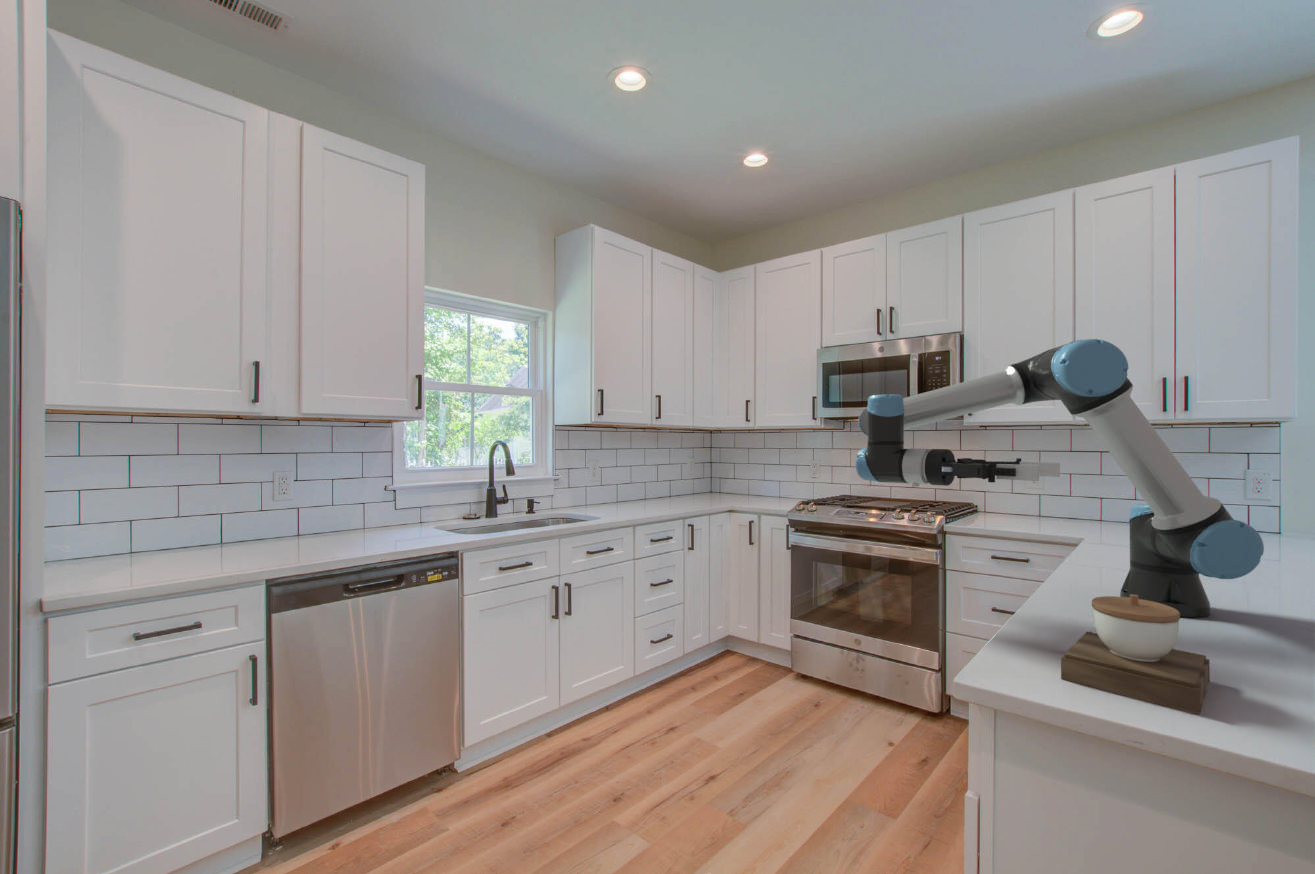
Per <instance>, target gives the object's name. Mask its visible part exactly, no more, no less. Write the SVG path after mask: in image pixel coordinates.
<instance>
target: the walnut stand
mask: <svg viewBox="0 0 1315 874" xmlns="http://www.w3.org/2000/svg"><path fill="white" fill-rule="evenodd" d="M1206 657H1207V656H1206V654H1205V655H1204V654H1201V653H1194V652H1191V651H1185V650H1181V649H1175V648H1173V649H1172V650H1171V651H1170V652H1169V653H1168V654H1166V655H1165V656H1163V657H1161V658H1160V660H1159V661H1156V662H1142V661H1136V660H1131V659H1126V658H1123V657H1120V656H1117V655H1115V654H1113V653H1112V652H1110V649H1109V648H1108V647H1107V646H1106V645H1105V644H1104V643H1103V642H1102V641H1101V639H1100V638H1099V636H1098V635H1097V632H1096V633H1095V632H1092V631H1086V632H1085V633H1084V634H1083V635H1082V636H1081V637H1080V638H1079V639H1078V640H1077V641H1076V642H1075V643H1074V644H1073V645H1072V646H1071V647H1070V648H1069V649H1068V650H1067V651H1066V652H1065V653H1064V654H1063V655H1062V656H1060V665H1061V666H1060V679H1061V680H1063V681H1068V682H1071V683H1074V684H1079V685H1083V686H1086V687H1090V688H1094V689H1097V690H1102V691H1106V692H1109V693H1113V694H1118V695H1122V696H1125V697H1129V698H1133V699H1137V700H1141V701H1143V702H1148V703H1152V704H1156V705H1159V706H1164V707H1167V708H1172V709H1175V710H1180V711H1183V712H1186V713H1190V714H1195V715H1200V713H1201V711H1202V707H1203V704H1204V701H1205V699H1206V698H1205V697H1206V695H1207V691H1208V688H1209V685H1210V684H1209V683H1210V680H1211V679H1210V678H1211V676H1210V671H1211V670H1210V669H1211V668H1210V658H1209V659H1208V658H1206ZM1208 684H1209V685H1208Z"/></svg>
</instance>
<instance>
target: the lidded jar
mask: <svg viewBox="0 0 1315 874" xmlns="http://www.w3.org/2000/svg"><path fill="white" fill-rule="evenodd" d="M1091 607H1092V620H1093V621H1092V622H1093V626H1094V629H1095V632H1096V633H1097V635H1098V636H1099V638H1100V639H1101V641H1102V642H1103V643H1104V644H1105V645H1106V646H1107V647H1108V648H1109V649H1110V652H1112V653H1113V654H1115V655H1117V656H1120V657H1123V658H1126V659H1131V660H1136V661H1142V662H1156V661H1159V660H1160V658H1161V657H1163V656H1165V655H1166V654H1168V653H1169V652H1170V651H1171V650H1172V649H1175V648H1174V647H1175V646H1176V643H1177V641H1178V637H1179V631H1180V622H1179V621H1180V618H1181V616H1180V613H1179V611H1178V610H1176V609H1174V608H1172V607H1170V606H1167V605H1164V604H1160V603H1157V602H1152V601H1147V600H1142V599H1138V595H1133V594H1130V598H1128V597H1120V596H1113V595H1112V596H1109V595H1108V596H1105V595H1104V596H1098V597H1094V598H1092V600H1091Z"/></svg>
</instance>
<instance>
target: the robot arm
mask: <svg viewBox="0 0 1315 874" xmlns="http://www.w3.org/2000/svg"><path fill="white" fill-rule="evenodd" d="M1128 370H1129V361H1128V359H1127V356H1126V355H1125V354H1124V352H1123V351H1122V350H1121V349H1120V348H1119V347H1118V346H1117V345H1115V344H1113V343H1111V342H1109V341H1106V340H1104V339H1097V338H1087V339H1079V340H1078V339H1077V340H1074V341H1070V342H1068V343H1065V344H1061V345H1060V346H1057V347H1054V348H1051V349H1047V350H1045V351H1043V352H1041V353H1039V354H1035V356H1032V357H1029V358H1027V359H1024V360H1021V361H1020V362H1017V363H1012V364H1008V365H1006V366H1005V367H1004V368H1003V370H1002V371H1000V372H999V371H998V372H995V373H991V374H989V375H985V376H980V377H977V378H973V379H969V380H966V381H962V382H959V383H955V384H952V385H947V386H944V387H940V388H937V389H932V390H930V391H926V392H921V393H919V394H918V393H917V394H915V395H911V396H906V397H903V396H902V395H901V394H895V393H894V394H893V393H891V394H873V395H872V394H871V395H869V396H868V398H867V406H866V407H865V409H863V410H862V412H861V413H860V414H859V417H858V422H857V423H858V427H859V429H860V430H861V432H862V433H863V434H864V435H865V436H867V447H863V448H861V449H860V450H858V452H857V454H856V459H855V470H856V473H857V474H858V476H859V478H860V479H862V480H864V481H870V482H877V483H890V484H891V483H893V484H896V483H897V484H913V485H914V487H915V488H919V486H920V485H932V486H944V487H945V486H946V487H947V486H951V485H952V484H953V482H954V480H955V477H956V478H957V479H982V480H986V479H987V482H988V483H996V480H1009V481H1010V480H1011V481H1013V480H1014V481H1032V482H1034V481H1035V482H1039V481H1040V477H1048V478H1049V477H1051V478H1053V477H1055V478H1059V477H1060V476H1061V475H1060V474H1061V472H1060V471H1061V469H1060V466H1061V464H1060V462H1050V461H1049V462H1048V461H1047V462H1046V461H1022V458H1020V457H1017V458H1016V459H1015V461H1004V460H1002V461H996V460H995V461H992V460H991V461H990V460H989V461H988V460H986V459H979V458H978V459H973V458H970V457H969V458H968V457H962V458H957V459H955V458H956V457H955V454H954V453H953V451H952V450H951V449H945V448H931V450H930V448H904V447H905V442H904V440H905V439H904V438H905V437H904V435H905V433H904V432H905V431H906V430H910V429H913V428H918V427H922V426H925V425H929V424H934V423H937V422H942V421H945V420H948V419H953V418H956V417H961V416H965V415H970V414H973V413H977V412H980V411H984V410H989V409H992V408H996V407H1000V406H1001V407H1002V406H1005V405H1008V404H1014V405H1017V406H1021V405H1025V404H1031V403H1035V402H1045V401H1046V402H1047V401H1061V403H1062V404H1063V405H1064V407H1065V408H1066V410H1067V411H1068V413H1070V415H1071V416H1072V417H1077V418H1083V419H1085V421H1086V423H1087V424H1088V425H1089V427H1091V429H1092V431H1093V432H1094V434H1095V435H1096V436H1097V438H1098V439H1099V440H1100V441H1101V443H1102V444H1103V445H1104V447H1105V448H1106V450H1107V451H1108V452H1109V454H1110V455H1111V457H1112V458H1113V459H1114V461H1115V462H1116V463H1117V465H1118V466H1119V467H1120V469H1121V470H1122V472H1123V473H1124V474H1125V476H1126V477H1127V479H1128V480H1129V481H1130V483H1131V484H1132V485H1133V487H1134V488H1135V489H1136V491H1137V493H1139V495H1140V496H1141V497H1142V499H1143V500H1144V502H1145V503H1146V504H1145V503H1144V504H1134V505H1132V507H1131V508H1130V510H1129V511H1130V512H1129V518H1128V523H1129V570H1128V572H1127V575H1126V576H1125V580H1124V582H1123V583H1122V587H1121V588H1120V591H1119V597H1128V598H1130V594H1133V595H1138V599H1142V600H1147V601H1152V602H1157V603H1160V604H1164V605H1167V606H1170V607H1172V608H1174V609H1176V610H1178V611H1179V613H1180V617H1184V618H1202V617H1208V616H1209V615H1211V603H1210V600H1209V598H1208V595H1207V593H1206V590H1205V587H1204V586H1203V583H1202V581H1201V578H1200V575H1202V576H1204V577H1208V578H1214V579H1219V580H1234V579H1239V578H1242V577H1244V576H1247V575H1249V574H1250V573H1251V572H1253V571H1255V569H1256V568H1257V567H1258V565H1259V564H1260V563H1261V559H1262V556H1264V552H1265V545H1264V541H1263V538H1262V536H1261V535H1260V533H1259V532H1258V531H1257V530H1256V529H1255V528H1254V527H1252V525H1250V524H1248V523H1245V522H1244V521H1241V520H1236V519H1234V518H1233V517H1232V515H1231V514H1230V512H1229V511H1228V510H1227V509H1226V507H1225V506H1224V504H1222V502H1221V500H1219V499H1218V498H1216V497H1211V496H1206V495H1204V494H1203V493H1202V491H1201V490H1200V488H1199V487H1198V486H1197V484H1196V483H1195V482H1194V481H1193V479H1192V478H1191V476H1190V474H1188V472H1187V471H1186V470H1185V468H1184V467H1183V465H1182V464H1181V463H1180V461H1179V460H1178V459H1177V458H1176V456H1175V455H1174V454H1173V452H1172V451H1171V450H1170V448H1169V447H1168V446H1167V444H1166V443H1165V442H1164V440H1163V439H1162V438H1161V436H1160V435H1159V434H1158V432H1157V431H1156V429H1155V428H1154V427H1153V426H1152V424H1151V423H1150V421H1149V420H1148V418H1147V417H1146V416H1145V415H1144V414H1143V412H1142V411H1141V409H1140V408H1139V407H1138V404H1136V402H1135V401H1134V400H1133V399H1132V397H1131V394H1132V391H1133V388H1134V385H1133V383H1132V381H1131V380H1130V379H1129V378H1128Z"/></svg>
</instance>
